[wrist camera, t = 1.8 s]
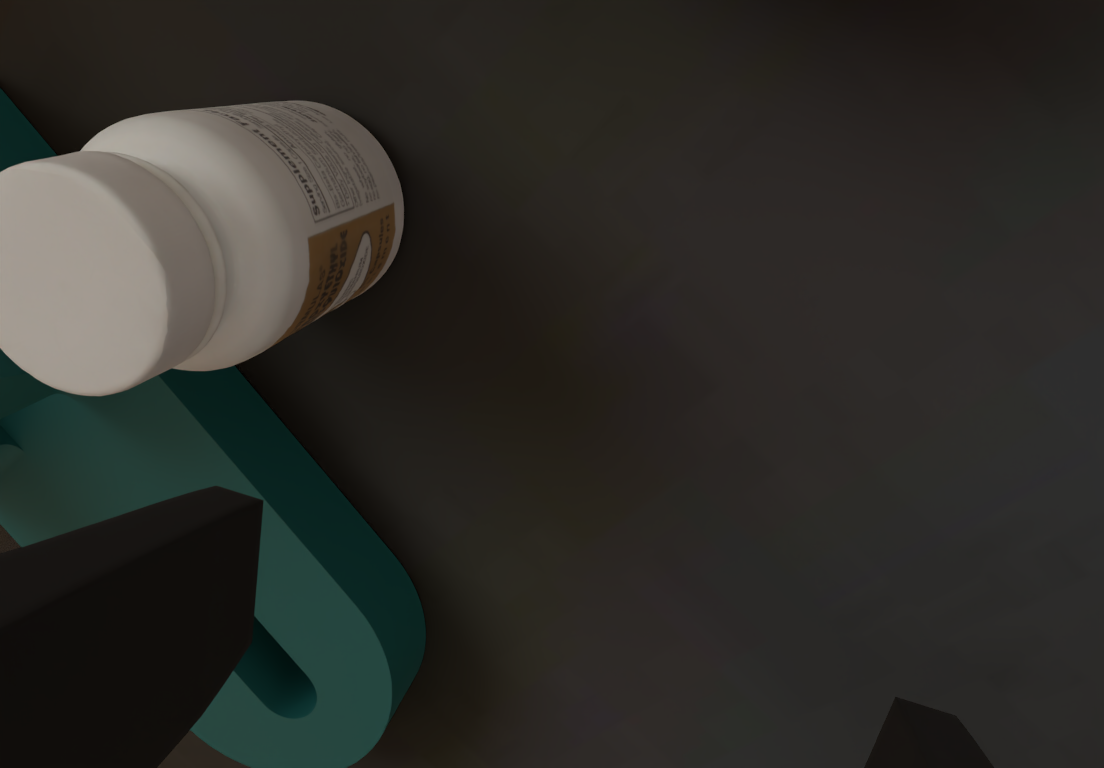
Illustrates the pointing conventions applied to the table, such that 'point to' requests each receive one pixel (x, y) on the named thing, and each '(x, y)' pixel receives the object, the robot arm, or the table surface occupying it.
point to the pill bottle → (190, 241)
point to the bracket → (285, 545)
